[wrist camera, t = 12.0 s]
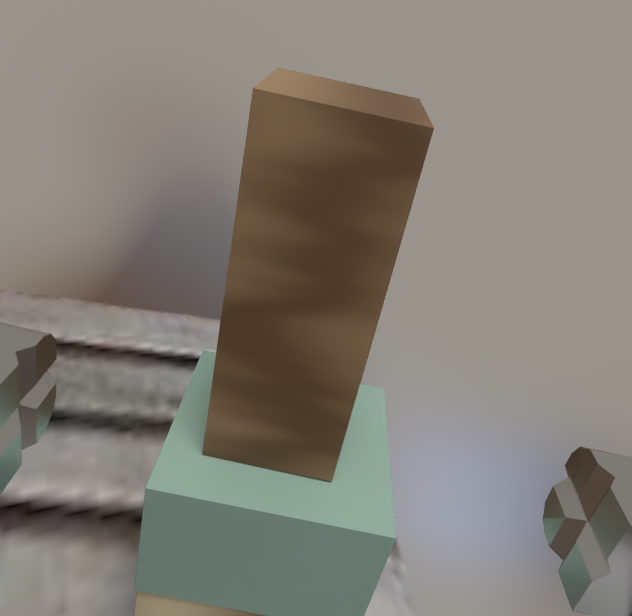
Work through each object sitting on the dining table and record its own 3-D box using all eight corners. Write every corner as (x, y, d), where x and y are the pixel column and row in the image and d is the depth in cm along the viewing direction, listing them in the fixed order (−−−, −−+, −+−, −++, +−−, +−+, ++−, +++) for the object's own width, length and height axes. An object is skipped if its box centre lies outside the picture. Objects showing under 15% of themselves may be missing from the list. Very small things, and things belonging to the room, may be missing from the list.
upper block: (134, 589, 21) (145, 488, 18) (189, 437, 28) (203, 350, 25) (356, 632, 21) (395, 538, 19) (355, 472, 28) (384, 388, 26)
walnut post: (201, 455, 20) (253, 88, 14) (229, 378, 24) (277, 67, 18) (331, 481, 20) (433, 127, 14) (337, 401, 24) (419, 99, 18)
